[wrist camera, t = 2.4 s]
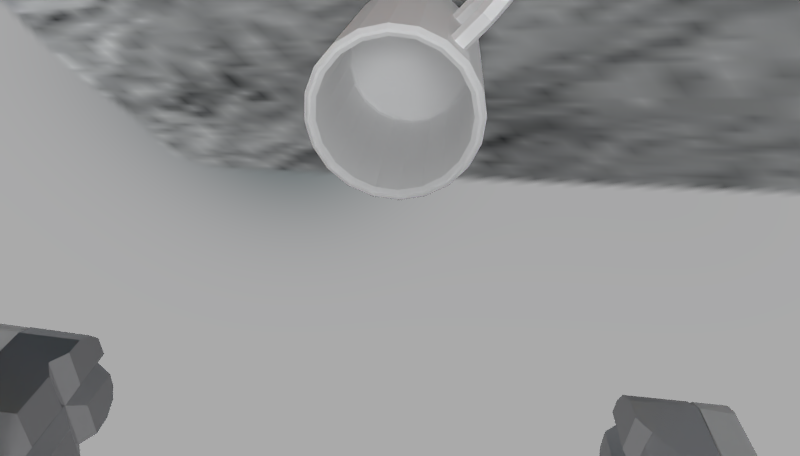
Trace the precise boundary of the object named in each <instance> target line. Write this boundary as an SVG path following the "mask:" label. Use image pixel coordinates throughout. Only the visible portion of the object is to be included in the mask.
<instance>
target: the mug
mask: <svg viewBox="0 0 800 456" xmlns="http://www.w3.org/2000/svg"><path fill="white" fill-rule="evenodd" d="M512 2H513V0H467V1H466V2H465V3H464V4H463V5H462V6H461V7H460V8H459V7H458V6H457V5H456V4H455V3H454V2H453V1H452V0H371V1H370V2H368V3H367V4H365V6H364V7H363V8H362V9H361V10H360V11H359V13H358V14H357V15H356V16H355V17H354V19H353V20H352V21H351V22H350V23H349V25H348V26H347V27H346V28H345V29H344V31H343V32H342V33H341V34H340V35H339V36H338V38H337V39H336V40H335V41H334V42H333V44H332V45H331V46H330V47H329V49H328V50H327V51H326V52H325V53H324V55H323V56H322V57H321V58H320V60H319V61H318V62H317V63H316V64H315V66H314V68H313V70H312V73H311V76H310V79H309V82H308V84H307V87H306V90H305V96H304V121H305V124H306V128H307V131H308V134H309V137H310V140H311V144H312V146H313V148H314V149H315V151H316V152H317V154H318V155H319V157H320V158H321V160H322V161H323V163H324V164H325V165H326V167H327V168H328V169H329V170H330V171H331V172H332V173H334V174H335V175H336V176H337V177H339V178H340V179H341V180H342V181H343V182H345V183H346V184H347V185H349V186H351V187H353V188H355V189H358V190H360V191H362V192H364V193H367V194H369V195H371V196H375V197H383V198H390V199H398V200H401V199H408V198H415V197H421V196H426V195H428V194H431V193H433V192H435V191H437V190H439V189H441V188H444V187H446V186H448V185H450V184H451V183H452V182H453V181H454V180H455V179H456V178H457V177H458V176H460V175H461V174H462V173H463V172H464V171H465V170H466V169H467V168H468V167H469V166H470V164H471V162H472V160H473V159H474V157H475V155H476V153H477V152H478V150H479V148H480V146H481V145H482V141H483V136H484V130H485V125H486V120H487V111H486V101H485V91H484V81H483V71H482V61H481V53H480V46H479V38H480V37H481V36H482V35H483V34H484V33H485V32H486V31H487V30H488V29H489V28H490V27H491V26H492V25H493V24H494V23H495V21H496V20H497V19H498V18H499V17H500V16H501V15H502V13H503V12H504V11H505V10H506V9H507V8H508V6H509V5H510V4H511V3H512Z"/></svg>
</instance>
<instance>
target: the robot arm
mask: <svg viewBox="0 0 800 456" xmlns="http://www.w3.org/2000/svg"><path fill="white" fill-rule="evenodd" d="M103 354H104V353H103V350H102V347H101V345H100V342H99V339H98V338H96V337H92V336H89V335H82V334H75V333H67V332H60V331H53V330H46V329H38V328H31V327H30V328H27V327H20V326H13V325H6V324H0V456H80V449H79V444H80V443H82V442H83V441H85V440H86V439H88V438H90V437H91V436H93V435H95V434H96V433H97V432H98V431H99V429H100V427H101V426H102V424H103V423H104V421H105V420H106V418H107V416H108V413H109V409H110V406H111V403H112V400H113V384H112V380H111V376H110V374H109V373H108V372H107V371H106V370H105V369H104V368H103V367H102V366H101V365H99V364H98V361H99V360H100V358H101V357H102V356H103ZM613 415H614V419H615V423H616V426H614V427H612V428H611V429H609V430H607V431H606V432H605V434H604V437H603V440H602V443H601V447H600V456H757V454H756V452H755V450H754V448H753V447H752V445H751V443H750V441H749V439H748V437H747V435H746V433H745V431H744V430H743V428H742V426H741V424H740V422H739V420H738V418H737V416H736V414H735V413H734V411H733V410H731V409H730V408H729V407H728V406H723V405H713V404H704V403H694V402H692V403H689V402H686V401H676V400H665V399H656V398H646V397H636V396H626V395H622V396H621V397H620V398H619V399H618V400H617V402H616V405H615V407H614V410H613Z"/></svg>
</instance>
